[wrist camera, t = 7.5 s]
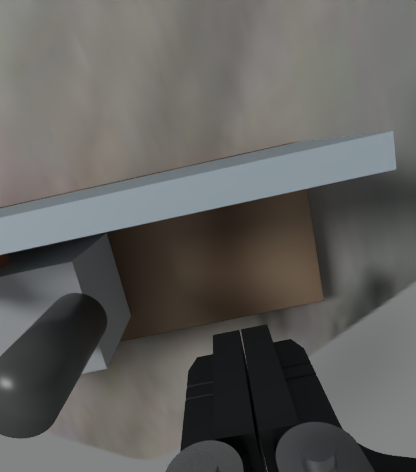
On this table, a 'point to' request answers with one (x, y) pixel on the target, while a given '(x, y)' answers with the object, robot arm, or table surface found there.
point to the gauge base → (216, 263)
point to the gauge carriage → (55, 327)
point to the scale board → (194, 189)
